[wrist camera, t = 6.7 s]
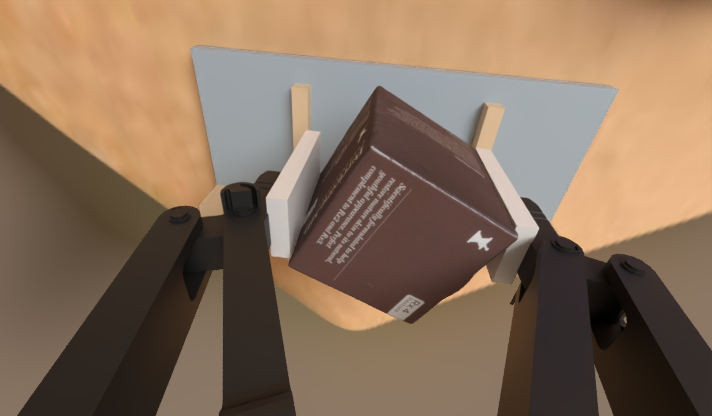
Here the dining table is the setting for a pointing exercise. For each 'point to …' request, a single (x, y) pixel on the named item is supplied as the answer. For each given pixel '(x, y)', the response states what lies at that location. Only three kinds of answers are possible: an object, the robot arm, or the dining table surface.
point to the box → (401, 213)
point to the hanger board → (412, 85)
